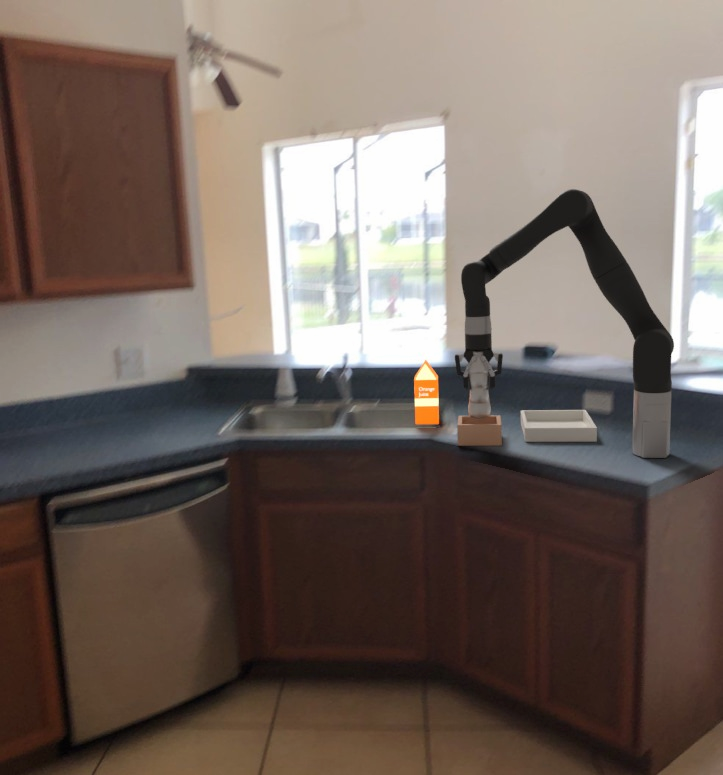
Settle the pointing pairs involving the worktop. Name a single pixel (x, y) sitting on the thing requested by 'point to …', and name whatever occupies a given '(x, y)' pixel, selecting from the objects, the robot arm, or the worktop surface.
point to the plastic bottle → (479, 388)
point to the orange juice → (426, 395)
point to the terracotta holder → (479, 430)
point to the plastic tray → (558, 426)
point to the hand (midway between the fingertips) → (479, 389)
